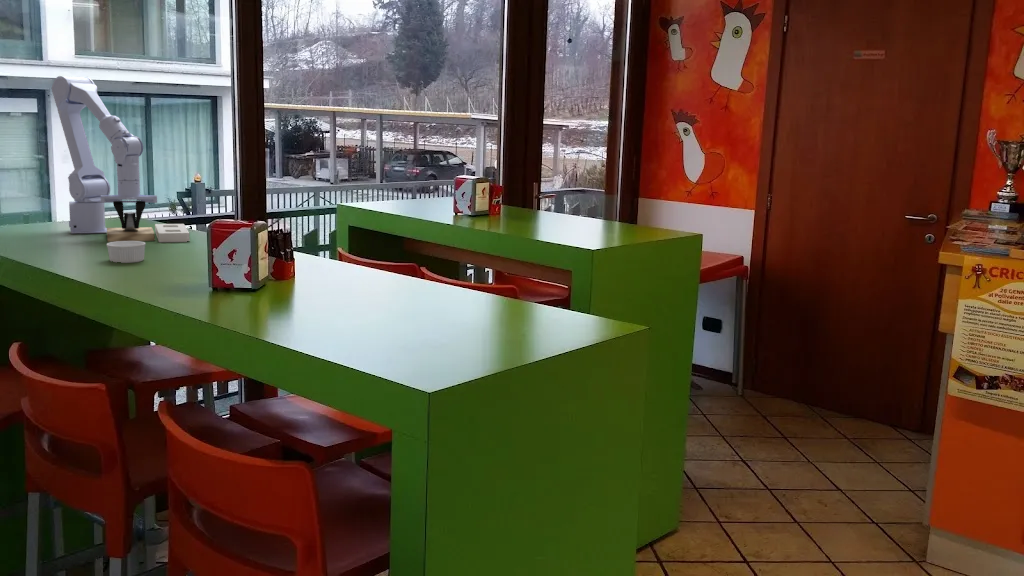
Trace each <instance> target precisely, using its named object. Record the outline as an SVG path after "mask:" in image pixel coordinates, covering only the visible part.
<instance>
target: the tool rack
mask: <svg viewBox="0 0 1024 576" xmlns="http://www.w3.org/2000/svg"><path fill="white" fill-rule="evenodd" d="M154 234H156V235H155V236H156V238H157V241H158V242H159V243H188V242H187V241H190V232H189V230H188V228H187V227H186V225H185V224H184V223H155V224H154Z"/></svg>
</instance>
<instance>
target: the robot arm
mask: <svg viewBox="0 0 1024 576" xmlns="http://www.w3.org/2000/svg"><path fill="white" fill-rule="evenodd" d="M51 92H52V95H53V98H54V103H55V106H56V108H57V113H58V116H59V121H60V123H61V127H62V130H63V131H62V132H63V134H64V137H65V141H66V144H67V148H68V151H69V154H70V159H71V162H72V165H73V168H74V170H73V171H72V172H71V173H70V174H69V176H68V177H67V179H68V184H69V185H68V186H69V188H68V189H69V190H68V191H69V194H70V196H71V198H72V199H73V201H69V205H68V208H69V220H68V227H69V228H70V234H107V228H108V227H106V211H105V204H106V203H109V204H110V203H112V205H113V207H114V208H115V211H116V213H117V215H118V218H119V221H120V223H121V228H122V229H125V224H124V203H129V204H130V203H131V204H132V203H134V204H135V213H136V229H139V227H140V222H141V218H142V215H143V212H144V211H145V209H146V203H147V204H149V203H152V204H157V203H158V195H155V194H154V195H153V194H152V195H151V194H150V195H149V194H148V195H147V194H141V188H140V186H141V184H140V158H139V157H141V155H142V154H143V152H144V144H143V140H142V139H141V138H140V137H139V136H136V135H133V133H131V132H129V130H128V129H127V128H126V126H125V125H124V123H123V122H122V119H120V117H118V116H117V115H112V114H111V112H110V111H109V110H108V108H107V107H106V105H105V104H104V102H103V100H102V99H101V98H100V96H99V94H98V86H97V85H96V84H95V82H94V81H93V80H92V78H90V77H88V76H87V77H80V76H79V77H78V76H77V77H76V76H63V75H59V76H57V77H56V78H55V79H54V81H53V83H52V86H51ZM85 108H87V109H88V110H89V111H90V113H92V115H93V116H94V117H95V118H96V119H97V121H99V124H98V125H99V126H98V127H99V130H100V131H101V132H102V133H103V135H104V136H105V137H106V139H107V140H108V142H110V144H111V146H110V150H111V153H112V155H113V157H114V162H115V164H116V175H117V177H116V178H117V179H116V180H117V194H110V193H111V185H110V183H109V180H108V179H107V178H106V176H105V172H104V171H103V170H101V169H100V168H99V167H97V166H96V165H95V161H94V159H93V155H92V152H91V149H90V145H89V141H88V137H87V134H86V132H85V127H84V124H83V121H82V117H81V112H82V110H83V109H85Z"/></svg>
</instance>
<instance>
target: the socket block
mask: <svg viewBox="0 0 1024 576" xmlns="http://www.w3.org/2000/svg"><path fill="white" fill-rule="evenodd" d="M106 228H107V233H106V235H107V242H116V241H141V242H150V241H151V242H154V241H156V240H155V230H154V229H153V227H151V226H150V227H147V226H146V227H141V226H139V229H136V232H125V229H122V227H106Z"/></svg>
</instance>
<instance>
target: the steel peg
mask: <svg viewBox="0 0 1024 576" xmlns="http://www.w3.org/2000/svg"><path fill="white" fill-rule="evenodd" d="M123 214H124V224H125V232H136V212H132V211H131V212H123Z"/></svg>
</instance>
